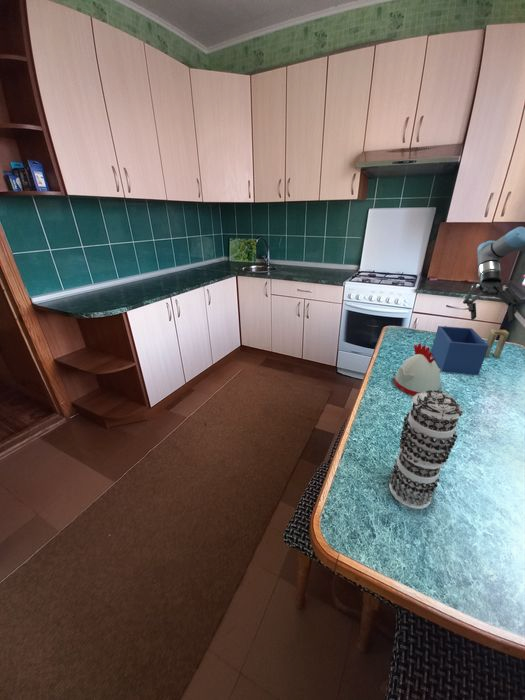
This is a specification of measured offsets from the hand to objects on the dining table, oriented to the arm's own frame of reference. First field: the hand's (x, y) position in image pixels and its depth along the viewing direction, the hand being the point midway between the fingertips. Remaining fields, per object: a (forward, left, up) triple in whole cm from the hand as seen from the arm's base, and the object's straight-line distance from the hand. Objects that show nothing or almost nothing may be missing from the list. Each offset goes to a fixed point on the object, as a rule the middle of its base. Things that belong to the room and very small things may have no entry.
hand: (492, 319), depth 119 cm
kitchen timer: (-16, +48, -13) cm, 52 cm away
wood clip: (-7, +4, -13) cm, 15 cm away
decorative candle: (-50, +79, -13) cm, 94 cm away
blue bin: (-7, +23, -13) cm, 27 cm away
